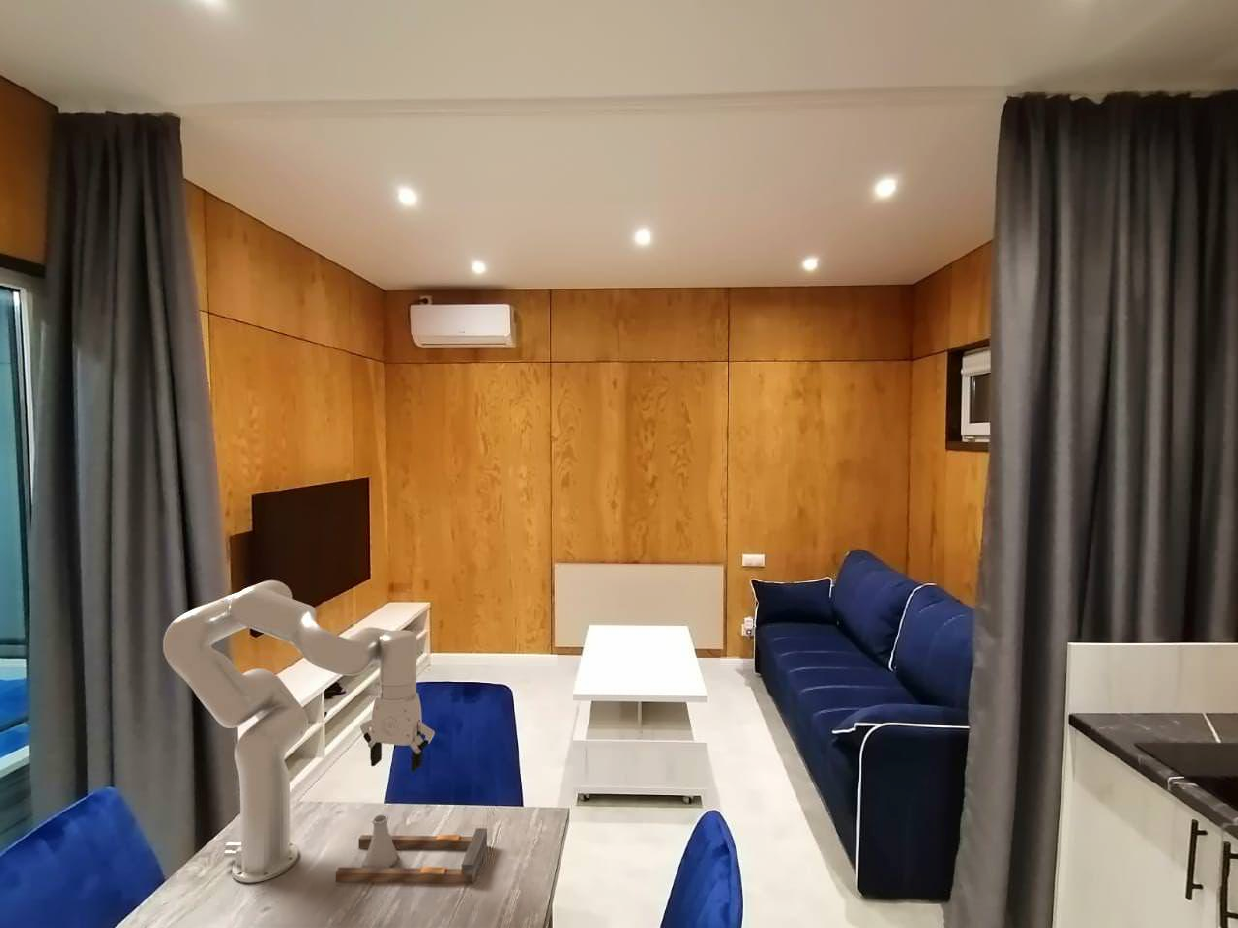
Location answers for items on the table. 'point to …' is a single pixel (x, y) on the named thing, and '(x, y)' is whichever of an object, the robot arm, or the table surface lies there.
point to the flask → (380, 846)
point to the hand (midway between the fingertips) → (396, 765)
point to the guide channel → (426, 874)
